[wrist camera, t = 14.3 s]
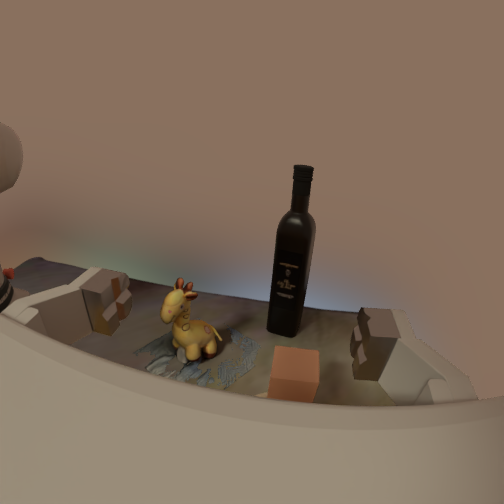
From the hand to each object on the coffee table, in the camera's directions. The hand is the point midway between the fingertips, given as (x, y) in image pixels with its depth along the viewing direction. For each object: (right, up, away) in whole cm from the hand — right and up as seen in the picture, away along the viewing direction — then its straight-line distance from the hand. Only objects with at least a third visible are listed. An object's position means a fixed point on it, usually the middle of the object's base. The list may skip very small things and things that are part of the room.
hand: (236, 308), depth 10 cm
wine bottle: (+6, -13, +46) cm, 48 cm away
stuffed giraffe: (-8, -16, +38) cm, 42 cm away
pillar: (+4, -18, +21) cm, 28 cm away
